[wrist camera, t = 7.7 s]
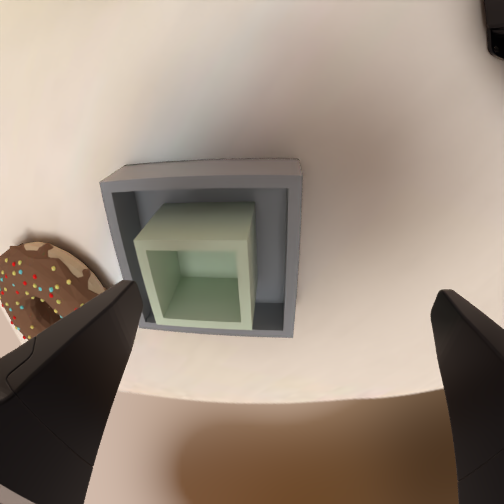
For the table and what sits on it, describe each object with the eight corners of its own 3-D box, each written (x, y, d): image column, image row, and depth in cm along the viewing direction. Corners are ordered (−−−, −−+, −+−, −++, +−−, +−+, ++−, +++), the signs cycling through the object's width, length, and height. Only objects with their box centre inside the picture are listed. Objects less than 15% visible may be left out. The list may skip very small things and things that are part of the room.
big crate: (298, 159, 18) (302, 175, 15) (292, 305, 24) (292, 337, 21) (124, 165, 19) (99, 182, 16) (153, 299, 25) (139, 327, 22)
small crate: (254, 201, 19) (247, 240, 15) (257, 280, 22) (252, 330, 18) (163, 203, 20) (133, 240, 15) (177, 278, 23) (156, 324, 19)
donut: (108, 234, 22) (76, 271, 18) (137, 352, 29) (121, 389, 25) (-2, 226, 23) (-33, 251, 19) (37, 326, 30) (17, 355, 26)
